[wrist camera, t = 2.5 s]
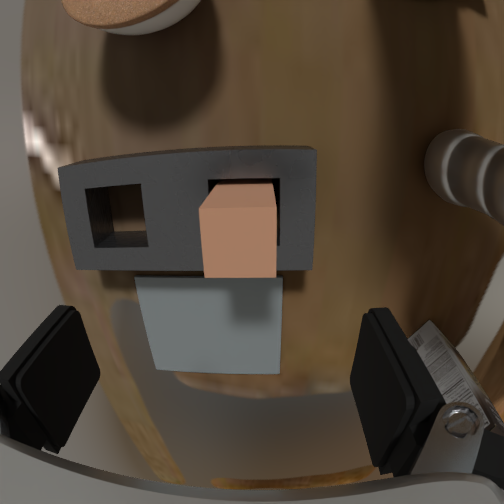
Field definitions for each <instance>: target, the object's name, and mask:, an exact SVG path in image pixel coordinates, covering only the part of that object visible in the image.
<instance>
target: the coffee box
mask: <svg viewBox="0 0 504 504" xmlns="http://www.w3.org/2000/svg"><path fill="white" fill-rule="evenodd" d="M408 341H409V343H410V344H411V346H414V348H415V349H416V350H417V352H418V354H419V355H420V357H421V359H422V360H423V362H424V364H425V366H426V367H427V369H428V371H429V373H430V374H431V376H432V378H433V380H434V381H435V383H436V385H437V387H438V389H439V390H440V392H441V394H442V396H443V398H444V400H445V402H446V403H447V404H448V403H451V402H457V401H460V402H466V403H468V404H471V405H473V406H474V407H475V408H477V409H478V410H479V411H480V413H481V414H482V416H483V419H484V429H485V430H488V431H491V432H493V433H496V434H498V435H501V436H504V423H503V421H502V419H501V418H500V416H499V414H498V413H497V411H496V409H495V407H494V406H493V404H492V402H491V401H490V399H489V398H488V396H487V394H486V393H485V391H484V390H483V388H482V386H481V385H480V383H479V382H478V380H477V379H476V377H475V375H474V374H473V372H472V371H471V370H470V368H469V367H468V365H467V364H466V362H465V361H464V359H463V358H462V356H461V355H460V354H459V352H458V351H457V350H456V348H455V347H454V346H453V345H452V344H451V343H450V342H449V340H448V339H447V338H446V337H445V336H444V335H443V334H442V332H441V331H440V330H439V329H438V328H437V327H436V326H435V325H434V323H433V322H432V321H431V320H428V321H427V322H426V323H425V324H424V325H423V326H422V327H421V328H420V329H419V330H418V331H416V332H415V333H414V334H413V335H412V336H411V337H410V338H408Z"/></svg>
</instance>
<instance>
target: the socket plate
mask: <svg viewBox="0 0 504 504" xmlns="http://www.w3.org/2000/svg"><path fill="white" fill-rule="evenodd" d="M316 159H317V150H316V149H314V148H312V147H309V146H229V147H207V148H191V149H177V150H165V151H154V152H144V153H135V154H126V155H118V156H110V157H103V158H96V159H89V160H83V161H79V162H76V163H72V164H69V165H65V166H62V167H59V168H58V175H59V182H60V190H61V196H62V203H63V209H64V214H65V220H66V225H67V230H68V235H69V240H70V245H71V249H72V254H73V258H74V262H75V266H76V270H142V271H204V266H203V255H202V244H201V232H200V219H199V208H200V206H201V205H202V203H203V202H204V201H205V199H206V198H207V197H208V195H209V194H210V192H211V191H212V190H213V188H214V187H215V186H216V179H238V178H277V247H276V270H312V264H313V247H314V227H315V202H316ZM140 183H141V190H142V199H143V208H144V216H145V224H146V231H124V232H114V229H113V223H112V216H111V210H110V203H109V195H108V187H107V186H117V185H128V184H140Z"/></svg>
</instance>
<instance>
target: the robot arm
mask: <svg viewBox="0 0 504 504" xmlns="http://www.w3.org/2000/svg"><path fill="white" fill-rule="evenodd" d="M99 378H100V369H99V366H98V363H97V361H96V358H95V356H94V353H93V350H92V348H91V345H90V342H89V339H88V336H87V333H86V330H85V327H84V324H83V321H82V318H81V315H80V313H79V312H78V311H77V310H76V308H75V307H73V306H65V305H59V306H57V307H56V308H55V309H54V310H53V312H52V313H51V314H50V315H49V316H48V317H47V318H46V319H45V320H44V321H43V322H42V323H41V325H40V326H39V327H38V328H37V329H36V330H35V331H34V332H33V334H32V335H31V336H30V337H29V338H28V339H27V340H26V342H25V343H24V344H23V345H22V346H21V347H20V348H19V350H18V351H17V352H16V353H15V354H14V355H13V357H12V358H11V359H10V360H9V362H8V363H7V364H6V365H5V366H4V368H3V369H2V370H1V371H0V504H504V436H501V435H498V434H496V433H493V432H491V431H488V430H485V429H484V419H483V416H482V414H481V413H480V411H479V410H478V409H477V408H475V407H474V406H473V405H471V404H468V403H466V402H460V401H457V402H451V403H448V404H447V403H446V402H445V400H444V398H443V396H442V394H441V392H440V390H439V389H438V387H437V385H436V383H435V381H434V380H433V378H432V376H431V374H430V373H429V371H428V369H427V367H426V366H425V364H424V362H423V360H422V359H421V357H420V355H419V354H418V352H417V350H416V349H415V348H414V346H411V344H410V343H409V341H408V339H407V338H406V336H405V334H404V333H403V331H402V329H401V328H400V326H399V324H398V323H397V321H396V320H395V318H394V316H393V315H392V313H391V311H390V310H389V309H388V308H386V307H385V308H371V309H369V311H368V313H365V314H364V315H363V318H362V323H361V328H360V333H359V338H358V343H357V348H356V353H355V357H354V362H353V366H352V371H351V375H350V385H351V389H352V392H353V395H354V399H355V402H356V406H357V409H358V412H359V416H360V420H361V423H362V427H363V431H364V434H365V438H366V442H367V445H368V449H369V453H370V456H371V460H372V464H373V466H374V467H379V471H380V475H382V474H388V473H393V476H394V477H393V478H387V479H381V480H374V481H368V482H362V483H355V484H347V485H339V486H330V487H318V488H306V489H289V490H232V489H215V488H202V487H192V486H183V485H176V484H168V483H162V482H155V481H150V480H144V479H139V478H134V477H129V476H124V475H120V474H116V473H111V472H108V471H104V470H100V469H96V468H92V467H89V466H85V465H82V464H79V463H75V462H72V461H69V460H66V459H63V458H60V457H57V456H54V455H51V454H48V453H46V452H43V451H41V449H42V447H44V448H45V449H46V450H48V451H51V452H54V453H56V454H58V453H59V451H60V449H61V447H64V446H65V444H66V442H67V440H68V438H69V436H70V434H71V432H72V430H73V428H74V426H75V424H76V422H77V420H78V418H79V416H80V414H81V412H82V410H83V408H84V406H85V405H86V402H87V401H88V399H89V397H90V395H91V393H92V391H93V389H94V387H95V386H96V384H97V382H98V380H99Z"/></svg>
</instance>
